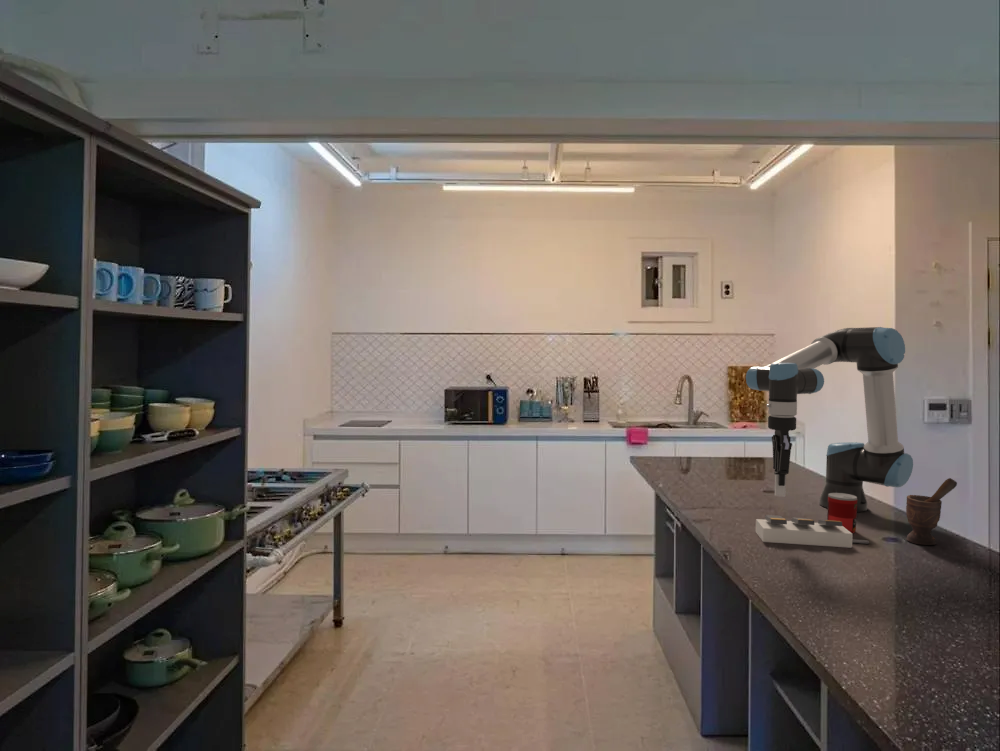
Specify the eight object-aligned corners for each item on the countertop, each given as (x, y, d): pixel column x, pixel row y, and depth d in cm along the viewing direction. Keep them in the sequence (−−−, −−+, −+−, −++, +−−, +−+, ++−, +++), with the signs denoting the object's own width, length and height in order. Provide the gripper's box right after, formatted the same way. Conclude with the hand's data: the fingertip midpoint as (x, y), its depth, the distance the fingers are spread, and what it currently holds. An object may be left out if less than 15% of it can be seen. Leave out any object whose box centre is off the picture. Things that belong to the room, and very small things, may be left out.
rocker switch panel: (861, 538, 190) (862, 525, 189) (874, 549, 180) (875, 535, 180) (755, 531, 195) (755, 518, 195) (762, 541, 185) (763, 528, 185)
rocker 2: (834, 524, 189) (833, 520, 189) (842, 526, 182) (842, 521, 183) (818, 523, 190) (818, 519, 190) (825, 525, 183) (825, 520, 183)
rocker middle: (807, 522, 191) (807, 517, 191) (814, 524, 184) (814, 520, 184) (791, 521, 191) (791, 517, 192) (798, 523, 185) (798, 519, 185)
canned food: (859, 534, 194) (861, 499, 193) (831, 533, 195) (832, 497, 195) (850, 527, 201) (852, 493, 200) (823, 526, 203) (825, 491, 202)
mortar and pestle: (945, 540, 189) (948, 474, 188) (956, 549, 181) (960, 480, 180) (900, 536, 192) (904, 471, 191) (909, 545, 184) (913, 477, 183)
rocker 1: (780, 519, 192) (780, 515, 192) (786, 524, 185) (786, 519, 185) (765, 518, 193) (765, 514, 193) (770, 523, 186) (770, 518, 186)
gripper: (763, 412, 192) (761, 490, 193) (774, 418, 179) (771, 500, 180) (789, 413, 190) (787, 491, 192) (802, 418, 178) (800, 502, 179)
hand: (780, 495), depth 186 cm, fingers closed
